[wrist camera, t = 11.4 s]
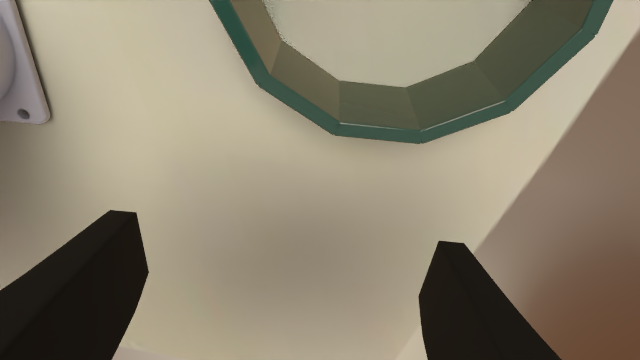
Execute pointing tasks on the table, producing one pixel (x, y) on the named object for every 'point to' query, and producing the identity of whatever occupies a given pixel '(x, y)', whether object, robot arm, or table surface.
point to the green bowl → (427, 96)
